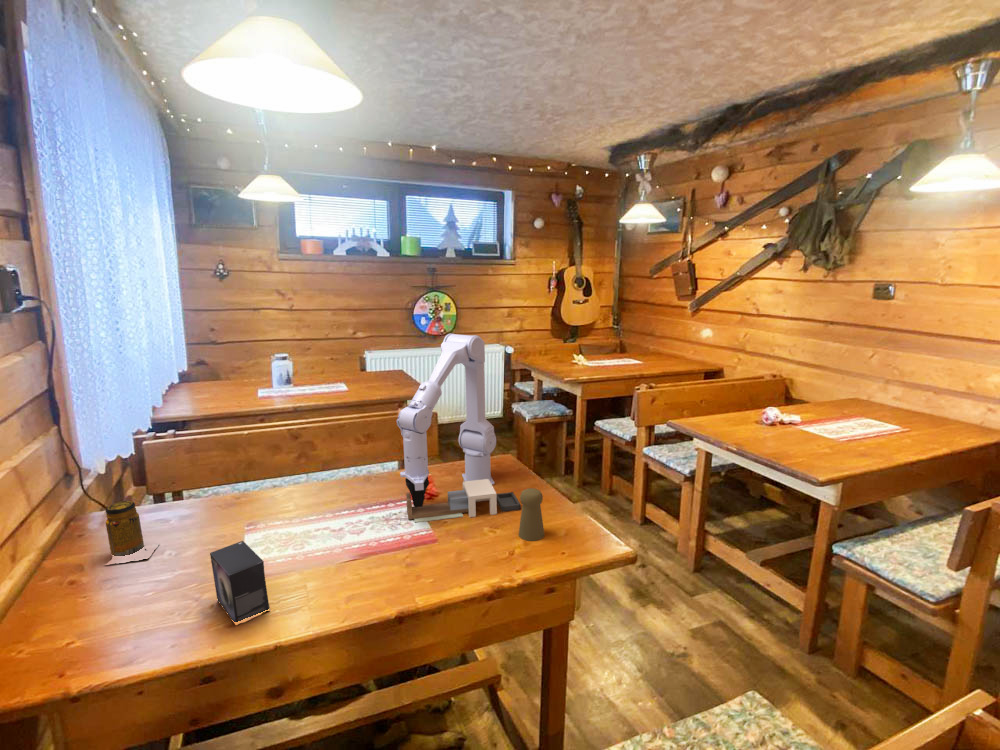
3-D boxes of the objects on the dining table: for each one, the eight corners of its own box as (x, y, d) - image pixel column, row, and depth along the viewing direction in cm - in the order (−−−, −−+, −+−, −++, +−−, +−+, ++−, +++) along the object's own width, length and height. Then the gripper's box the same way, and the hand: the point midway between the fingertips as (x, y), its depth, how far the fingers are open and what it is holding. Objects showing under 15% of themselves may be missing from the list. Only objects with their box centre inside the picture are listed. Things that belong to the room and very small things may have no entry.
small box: (214, 602, 102) (207, 551, 100) (249, 587, 107) (243, 539, 104) (234, 628, 95) (227, 574, 93) (271, 611, 99) (265, 559, 97)
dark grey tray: (494, 498, 144) (494, 494, 144) (512, 496, 146) (512, 492, 145) (501, 512, 137) (501, 506, 137) (520, 509, 138) (520, 504, 138)
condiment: (118, 549, 122) (109, 500, 119) (160, 544, 124) (152, 496, 121) (103, 567, 115) (94, 515, 112) (148, 561, 117) (139, 510, 114)
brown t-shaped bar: (407, 510, 138) (406, 492, 137) (472, 503, 141) (471, 485, 140) (408, 519, 133) (407, 500, 132) (475, 511, 137) (475, 492, 136)
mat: (412, 508, 140) (412, 507, 140) (458, 503, 142) (458, 502, 142) (414, 522, 132) (414, 521, 132) (463, 516, 135) (463, 515, 135)
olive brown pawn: (545, 541, 122) (545, 496, 120) (518, 541, 122) (518, 496, 120) (543, 528, 128) (543, 485, 126) (518, 528, 128) (518, 485, 126)
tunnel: (463, 501, 143) (462, 481, 142) (488, 498, 145) (488, 478, 144) (469, 517, 134) (468, 496, 133) (496, 514, 136) (496, 493, 135)
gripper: (397, 446, 139) (400, 495, 142) (401, 467, 125) (404, 520, 128) (425, 444, 140) (427, 492, 143) (431, 464, 127) (433, 517, 129)
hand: (418, 505), depth 136 cm, fingers closed, pressing on brown t-shaped bar
